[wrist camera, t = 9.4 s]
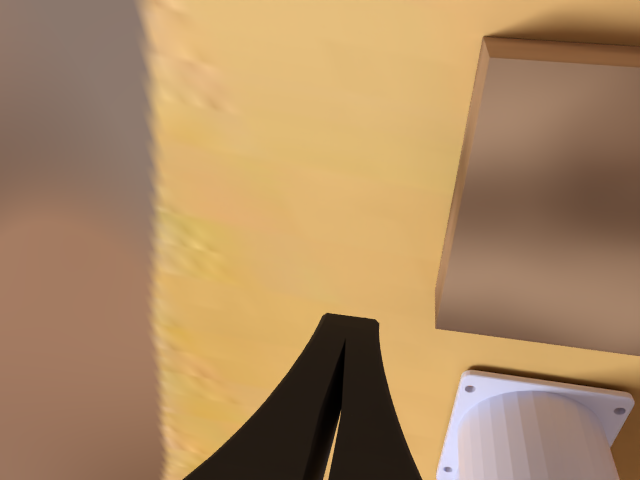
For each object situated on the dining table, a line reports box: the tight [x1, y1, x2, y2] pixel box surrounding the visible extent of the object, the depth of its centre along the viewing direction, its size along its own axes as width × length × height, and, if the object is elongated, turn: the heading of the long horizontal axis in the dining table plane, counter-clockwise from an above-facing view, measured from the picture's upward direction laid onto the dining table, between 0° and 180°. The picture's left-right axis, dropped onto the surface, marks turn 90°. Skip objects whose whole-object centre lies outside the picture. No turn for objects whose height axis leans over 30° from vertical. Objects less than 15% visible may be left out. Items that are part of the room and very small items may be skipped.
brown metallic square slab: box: [435, 37, 640, 356], centre depth 19 cm, size 11×11×2 cm
